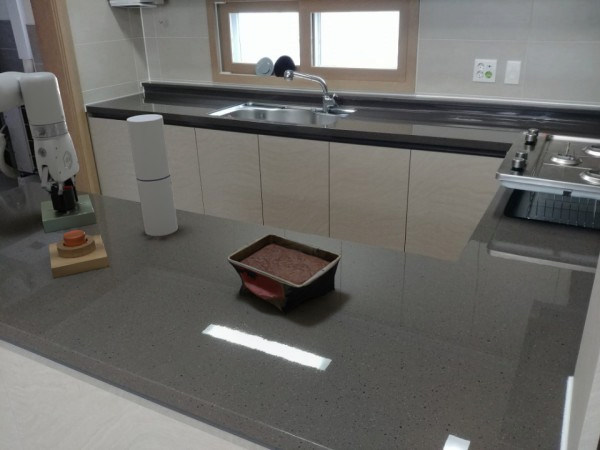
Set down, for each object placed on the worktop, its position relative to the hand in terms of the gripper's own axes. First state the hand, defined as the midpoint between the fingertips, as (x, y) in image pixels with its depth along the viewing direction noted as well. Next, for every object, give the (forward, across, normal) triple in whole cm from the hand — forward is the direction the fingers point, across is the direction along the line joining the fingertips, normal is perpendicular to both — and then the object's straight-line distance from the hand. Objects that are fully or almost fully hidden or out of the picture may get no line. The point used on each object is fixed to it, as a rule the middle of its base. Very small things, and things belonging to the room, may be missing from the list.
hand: (66, 205), depth 127 cm
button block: (+3, -22, -13) cm, 26 cm away
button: (0, -22, -13) cm, 26 cm away
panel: (+3, 0, 0) cm, 3 cm away
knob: (0, 0, 0) cm, 0 cm away
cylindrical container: (+4, -7, -25) cm, 26 cm away
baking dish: (+4, -33, -56) cm, 66 cm away
